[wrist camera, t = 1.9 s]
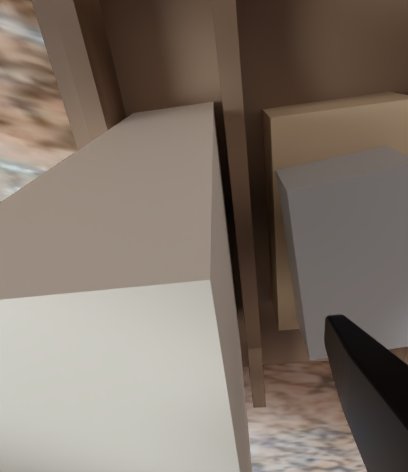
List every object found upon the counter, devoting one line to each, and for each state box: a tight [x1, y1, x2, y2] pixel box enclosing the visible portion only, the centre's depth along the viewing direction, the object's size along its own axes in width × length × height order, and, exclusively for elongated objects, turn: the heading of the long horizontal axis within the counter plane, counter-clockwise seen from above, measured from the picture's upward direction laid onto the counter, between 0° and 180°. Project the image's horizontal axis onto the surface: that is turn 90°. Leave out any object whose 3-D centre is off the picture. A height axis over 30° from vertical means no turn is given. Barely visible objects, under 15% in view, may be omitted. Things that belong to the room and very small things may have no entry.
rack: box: [31, 0, 408, 408], centre depth 14 cm, size 18×14×4 cm
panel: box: [0, 102, 252, 472], centre depth 10 cm, size 10×3×11 cm, turn 8°
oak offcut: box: [262, 92, 408, 331], centre depth 13 cm, size 9×4×2 cm, turn 8°
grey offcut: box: [276, 146, 408, 360], centre depth 12 cm, size 7×4×2 cm, turn 14°
